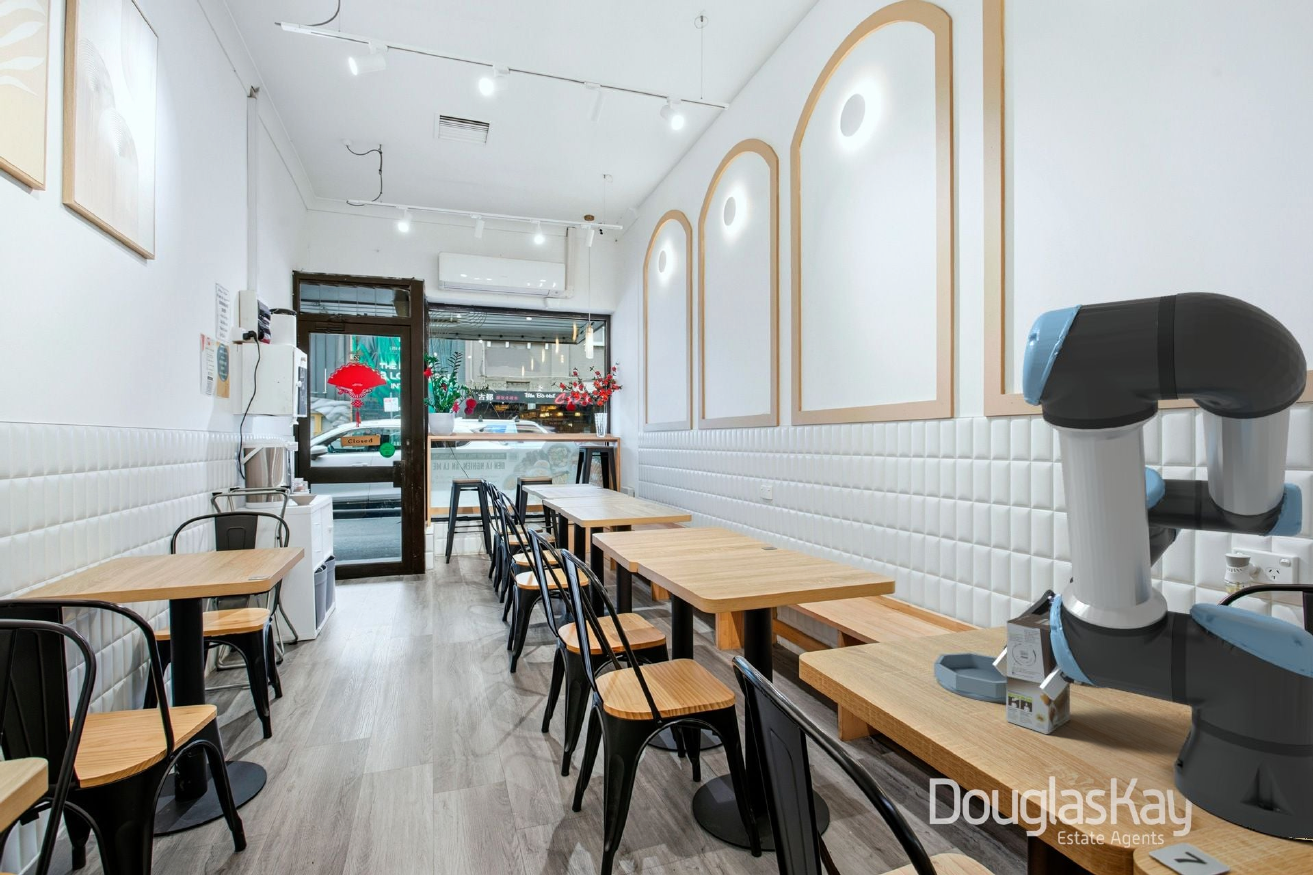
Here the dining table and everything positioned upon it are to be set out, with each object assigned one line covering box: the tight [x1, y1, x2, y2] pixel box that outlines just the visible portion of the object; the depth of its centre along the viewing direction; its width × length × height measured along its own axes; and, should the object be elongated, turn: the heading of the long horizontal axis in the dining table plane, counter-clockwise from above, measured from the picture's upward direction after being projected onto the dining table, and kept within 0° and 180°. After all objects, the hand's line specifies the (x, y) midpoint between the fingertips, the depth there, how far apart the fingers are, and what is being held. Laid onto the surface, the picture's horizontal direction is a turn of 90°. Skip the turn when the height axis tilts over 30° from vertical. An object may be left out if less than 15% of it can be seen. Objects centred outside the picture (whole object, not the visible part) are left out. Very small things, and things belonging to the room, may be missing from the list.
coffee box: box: [1005, 613, 1071, 735], centre depth 100 cm, size 9×6×16 cm
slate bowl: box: [933, 652, 1007, 704], centre depth 115 cm, size 15×15×4 cm
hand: (1021, 681), depth 100 cm, fingers closed on coffee box, 9 cm apart
